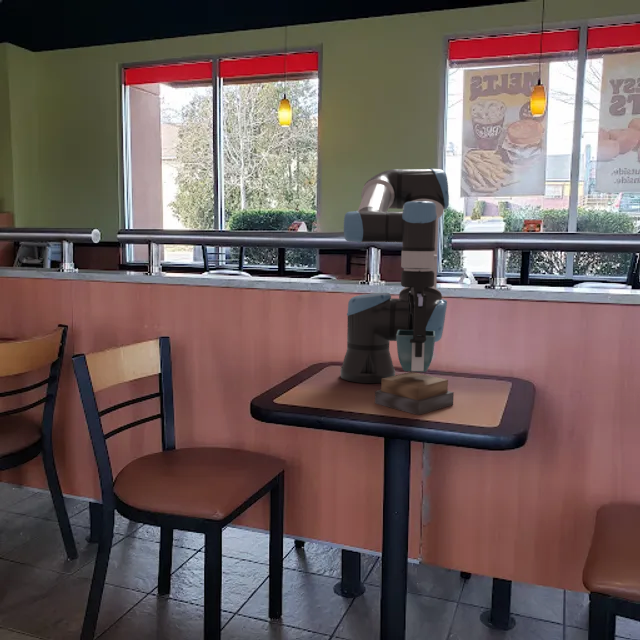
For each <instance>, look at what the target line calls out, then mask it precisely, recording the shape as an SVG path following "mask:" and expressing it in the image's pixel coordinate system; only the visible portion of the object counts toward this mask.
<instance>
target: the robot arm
mask: <svg viewBox="0 0 640 640" xmlns="http://www.w3.org/2000/svg"><path fill="white" fill-rule="evenodd" d="M449 194H450V193H449V182H448V176H447V174H446V172H445V170H443V169H441V168H440V169H439V168H432V167H429V168H422V169H421V168H393V169H388V170H385V171H382V172H379V173H377V174H375V175H374V176H372V177H371V178H370V179H368V180H367V181H366V182H365V183H364V185H363V187H362V189H361V202H360V203H359V206H358V209H357V210H354V211H347V212H346V213H345V214H344V218H343V237H344V239H345V241H346V242H348V243H358V244H361V243H390V244H392V243H396V244H398V243H401V244H402V247H401V259H400V260H401V261H400V263H401V265H400V268H402V269H403V270H402V271H401V274H400V285H401V286H402V287H403V288H402V289H401V290H400V292H399V294H398V297H399V298H395V297H394V298H393V297H392V295H391V293H390V292H375V293H374V292H372V293H367V294H366V293H365V294H359V295H356V296H353V297H351V298H350V299H349V300H348V304H347V313H346V316H347V330H346V331H347V335H346V338H347V339H346V343H347V344H346V353H345V355H344V358H343V362H342V365H341V367H340V378H341V379H342V380H344V381H348V382H352V383H353V382H354V383H360V384H381V380H382V378H387V377H391V376H395V375H396V370H395V369H396V368H395V367H394V363H393V360H392V355H391V351H390V342H397V339H396V334H397V331H398V330H413V339H410V343H412V362H411V371H424V342H425V341H426V330H428V331H435V343H437V342H439V341H441V339H442V337H443V331H444V327H445V320H446V313H447V306H448V301H447V300H446V299H445V298H442V297H443V294H442V292H441V291H440V290H439V289H438V288H437V280H438V279H437V277H438V275H437V274H438V246H439V245H438V243H439V242H438V241H439V239H438V237H439V218H441V217H442V216H443V214H444V210H447V209H448V208H449V204H450V203H449V202H450V198H449V197H450V196H449ZM388 209H398V210H402V211H388Z"/></svg>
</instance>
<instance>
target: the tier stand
mask: <svg viewBox="0 0 640 640" xmlns="http://www.w3.org/2000/svg"><path fill="white" fill-rule="evenodd" d="M380 384H381V386H380V387H381V388H380V389H378V390H375V391H374V393H375V394H374V404H376V405H379V406H383V407H387V408H391V409H395V410H399V411H402V412H406V413H409V414H414V415H417V416H419V415H424V414H428V413H430V412H433V411H437V410H439V409H444V408H446V407H450V406H453V405H454V393H455V392H454V391H449V387H448V385H449V379H447V378H441V377H437V376H433V375H428V374H423V373H420V372H410V371H409V372H405V373H401V374H395V376H391V377H387V378H382V380H381V383H380Z"/></svg>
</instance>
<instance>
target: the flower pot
mask: <svg viewBox="0 0 640 640" xmlns="http://www.w3.org/2000/svg"><path fill="white" fill-rule="evenodd" d="M396 339H397V341H396V350H397V357H398V360H399V364H400V366H401V369H402V370H403V371H404V372H405V373H409V372H414V373H427V371H428V370H429V367H430V366H431V363H432V360H433V356H434V350H435V343H436V342H435V331H428V330H426V341H425V342H424V371H411V362H412V343H410V339H413V330H398V331H397V334H396Z"/></svg>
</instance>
